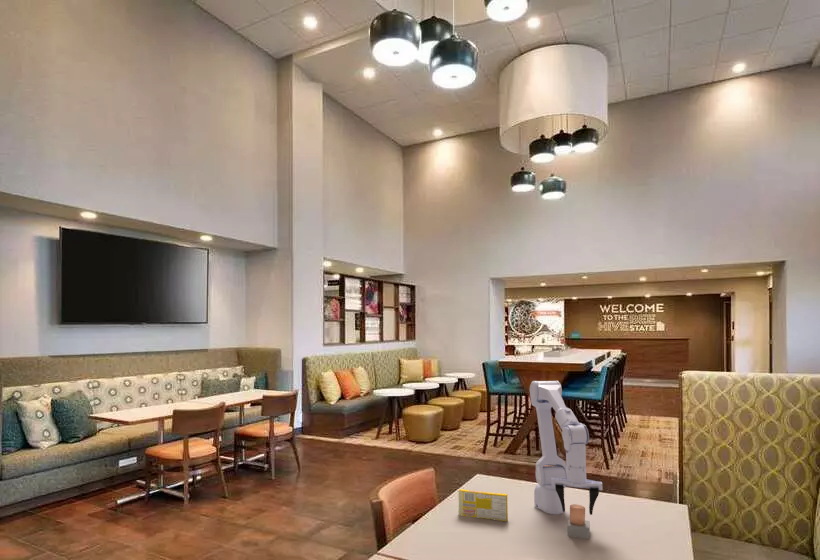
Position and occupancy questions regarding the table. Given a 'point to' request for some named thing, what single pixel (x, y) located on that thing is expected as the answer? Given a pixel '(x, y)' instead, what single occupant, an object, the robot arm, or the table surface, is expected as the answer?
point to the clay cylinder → (577, 514)
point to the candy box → (483, 504)
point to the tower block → (578, 530)
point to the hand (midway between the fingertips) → (577, 512)
